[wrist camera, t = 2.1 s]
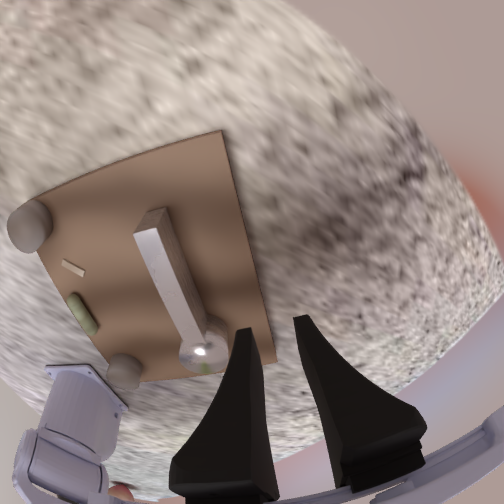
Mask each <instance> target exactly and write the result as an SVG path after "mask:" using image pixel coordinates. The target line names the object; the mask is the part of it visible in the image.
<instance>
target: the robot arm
mask: <svg viewBox="0 0 504 504" xmlns="http://www.w3.org/2000/svg"><path fill="white" fill-rule="evenodd" d="M293 320H294V326H295V332H296V339H297V345H298V350H299V354H300V358H301V362H302V366H303V369H304V372H305V375H306V377H307V380H308V383H309V386H310V388H311V391H312V394H313V397H314V399H315V402H316V405H317V408H318V411H319V415H320V419H321V423H322V427H323V431H324V435H325V440H326V443H327V449H328V453H329V458H330V462H331V467H332V472H333V476H334V481H335V487H336V489H334V490H330V491H326V492H322V493H318V494H314V495H309V496H304V497H298V498H293V499H287V500H281V501H277V500H278V499H279V497H280V495H279V490H278V485H277V480H276V475H275V470H274V465H273V459H272V454H271V448H270V442H269V436H268V430H267V424H266V412H265V394H264V377H263V370H262V364H261V359H260V354H259V351H258V348H257V344H256V341H255V338H254V335H253V332H252V328H251V327H248V328H243V329H238V330H237V331H236V333H235V339H234V344H233V348H232V352H231V356H230V359H229V362H228V365H227V368H226V371H225V374H224V376H223V379H222V381H221V384H220V387H219V389H218V391H217V393H216V395H215V397H214V399H213V401H212V403H211V405H210V407H209V409H208V411H207V412H206V414H205V416H204V417H203V419H202V421H201V422H200V424H199V425H198V427H197V428H196V429H195V431H194V432H193V434H192V435H191V436H190V438H189V439H188V440H187V442H186V443H185V444H184V445H183V446H182V448H181V449H180V450H179V451H178V452H177V453H176V455H175V456H174V457H173V458H172V461H171V465H170V471H169V489H170V490H171V491H172V492H174V493H176V494H178V495H180V496H183V497H185V501H186V502H185V503H186V504H341V503H344V502H348V501H351V500H355V499H358V498H361V497H364V496H367V495H370V494H373V493H376V492H379V491H381V490H384V489H387V488H389V487H392V486H394V485H397V484H399V483H401V484H399V485H397V486H395V487H393V488H391V489H388V490H386V491H384V492H382V493H379V494H377V495H376V496H375V497H376V498H374V499H372V500H371V501H370V504H442V503H444V502H446V501H447V500H449V499H451V498H453V497H454V496H456V495H458V494H459V493H461V492H462V491H464V490H466V489H467V488H469V487H470V486H472V485H474V484H475V483H476V482H478V481H479V480H481V479H482V478H484V477H485V476H487V475H488V474H489V473H491V472H492V471H493V470H495V469H496V468H497V467H499V466H500V465H501V464H502V463H504V406H502V407H501V408H499V409H498V410H497V411H495V412H494V413H492V414H491V415H490V416H489V417H487V419H485V421H484V422H483V423H482V425H480V426H478V427H477V428H475V429H474V430H472V431H470V432H469V433H467V434H466V435H464V436H462V437H460V438H459V439H457V440H455V441H453V442H452V443H450V444H448V445H446V446H444V447H442V448H440V449H439V450H437V451H435V452H433V453H431V454H429V455H427V456H424V457H423V455H422V452H421V450H420V449H421V448H422V445H421V443H420V439H421V437H422V436H423V435H424V433H425V432H426V430H427V425H426V422H425V421H424V419H423V417H422V416H421V414H420V413H419V411H418V410H417V409H416V408H415V407H414V406H412V405H410V404H407V403H405V402H403V401H401V400H400V399H398V398H396V397H394V396H393V395H391V394H389V393H387V392H386V391H384V390H383V389H381V388H380V387H378V386H377V385H375V384H374V383H372V382H371V381H370V380H368V379H367V378H366V377H364V376H363V375H362V374H361V373H359V372H358V371H357V370H356V369H355V368H353V367H352V366H351V365H350V364H349V363H348V362H347V361H346V360H345V359H344V358H343V357H342V356H341V355H340V354H339V353H338V352H337V351H336V350H335V349H334V348H333V347H332V345H331V344H330V343H329V342H328V341H327V340H326V339H325V337H324V336H323V335H322V334H321V332H320V331H319V330H318V328H317V327H316V325H315V324H314V323H313V321H312V319H311V318H310V316H309V315H307V314H306V315H302V316H298V317H293ZM44 370H45V371H46V373H47V374H48V375H49V376H50V377H51V378H52V379H53V380H54V383H53V386H52V389H51V391H50V394H49V397H48V399H47V402H46V405H45V408H44V411H43V414H42V417H41V420H40V423H39V426H38V429H37V430H34V429H32V428H31V429H30V430H26V431H25V432H24V434H23V436H22V438H21V440H20V443H19V446H18V449H17V452H16V457H15V462H14V471H13V476H12V481H13V485H14V488H15V490H16V491H17V492H18V494H19V495H20V496H21V497H22V499H23V500H24V501H25V503H26V504H71V503H68V502H65V501H63V500H61V499H58V498H55V497H54V496H51V495H49V494H47V493H45V492H43V491H40V490H39V489H37V488H36V487H34V486H33V485H32V483H34V484H36V485H38V486H40V487H42V488H44V489H46V490H49V491H51V492H53V493H55V494H57V495H60V496H62V497H64V498H67V499H69V500H72V501H75V502H77V503H79V504H147V503H138V502H131V501H125V500H121V499H119V498H117V497H115V496H111V495H108V489H109V476H108V473H107V471H106V468H105V466H104V465H103V464H101V463H100V462H102V461H105V460H107V459H108V458H109V457H110V456H111V455H112V454H113V452H114V450H115V448H116V443H117V437H118V432H119V426H120V421H121V416H122V411H128V407H127V406H126V405H125V404H124V403H123V402H122V401H121V400H120V399H119V398H118V397H117V396H116V395H115V394H114V392H113V391H112V390H111V389H110V388H109V387H108V386H107V385H106V384H105V383H104V381H103V380H102V379H101V378H100V377H99V376H98V375H97V373H96V372H95V371H94V370H93V369H92V368H91V367H90V366H89V365H72V366H45V368H44ZM404 481H405V482H404ZM31 482H32V483H31ZM402 482H404V483H402Z"/></svg>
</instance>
